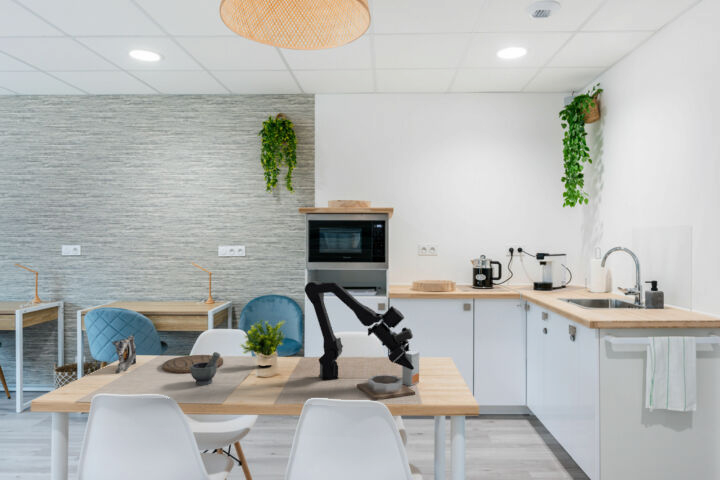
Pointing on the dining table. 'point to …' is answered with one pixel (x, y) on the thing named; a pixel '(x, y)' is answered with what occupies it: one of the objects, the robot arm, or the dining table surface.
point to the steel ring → (390, 382)
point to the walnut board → (378, 396)
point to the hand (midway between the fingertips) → (414, 365)
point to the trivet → (187, 363)
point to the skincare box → (410, 375)
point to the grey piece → (125, 353)
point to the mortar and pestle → (205, 371)
